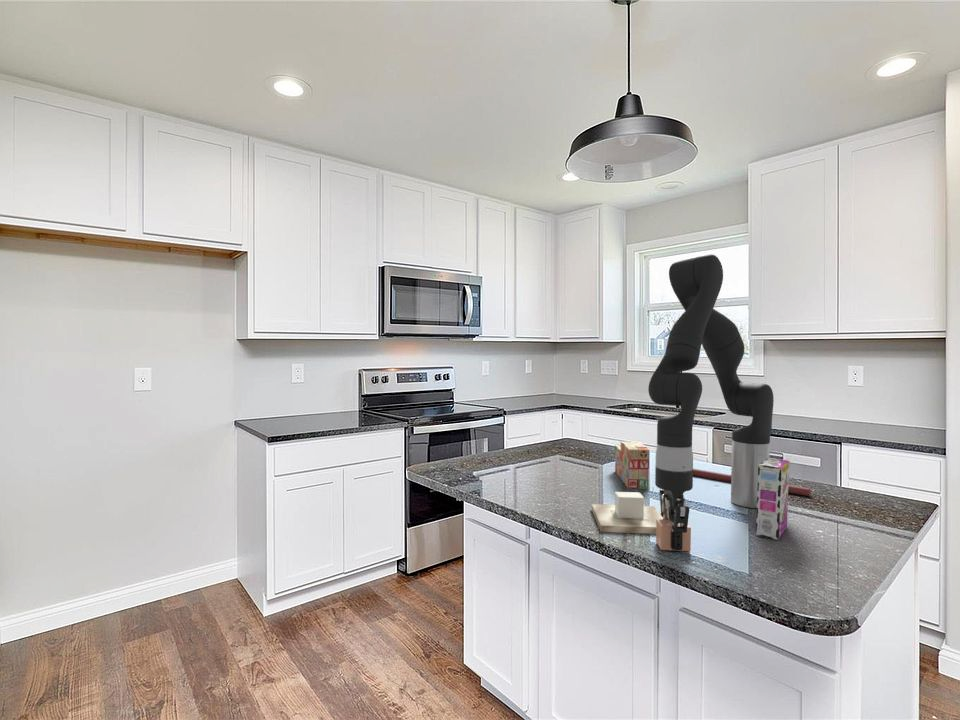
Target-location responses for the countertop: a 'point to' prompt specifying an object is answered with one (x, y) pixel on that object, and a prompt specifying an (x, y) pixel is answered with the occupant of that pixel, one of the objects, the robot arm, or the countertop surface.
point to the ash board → (625, 520)
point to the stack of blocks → (632, 464)
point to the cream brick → (629, 505)
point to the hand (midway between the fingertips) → (672, 544)
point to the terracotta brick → (665, 536)
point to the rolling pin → (728, 478)
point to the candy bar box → (772, 498)
